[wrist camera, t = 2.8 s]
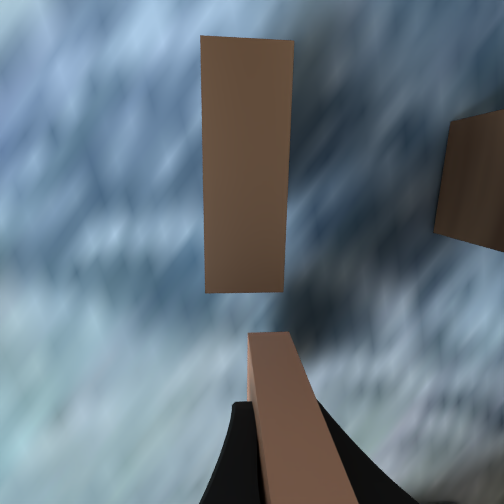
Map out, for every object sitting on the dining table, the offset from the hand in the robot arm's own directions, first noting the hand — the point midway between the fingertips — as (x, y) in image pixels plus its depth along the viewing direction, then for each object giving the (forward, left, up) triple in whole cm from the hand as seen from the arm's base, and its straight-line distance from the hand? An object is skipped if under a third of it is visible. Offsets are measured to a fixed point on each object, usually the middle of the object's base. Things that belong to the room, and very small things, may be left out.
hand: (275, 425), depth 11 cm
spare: (0, 0, -2) cm, 2 cm away
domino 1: (+8, +1, -4) cm, 9 cm away
